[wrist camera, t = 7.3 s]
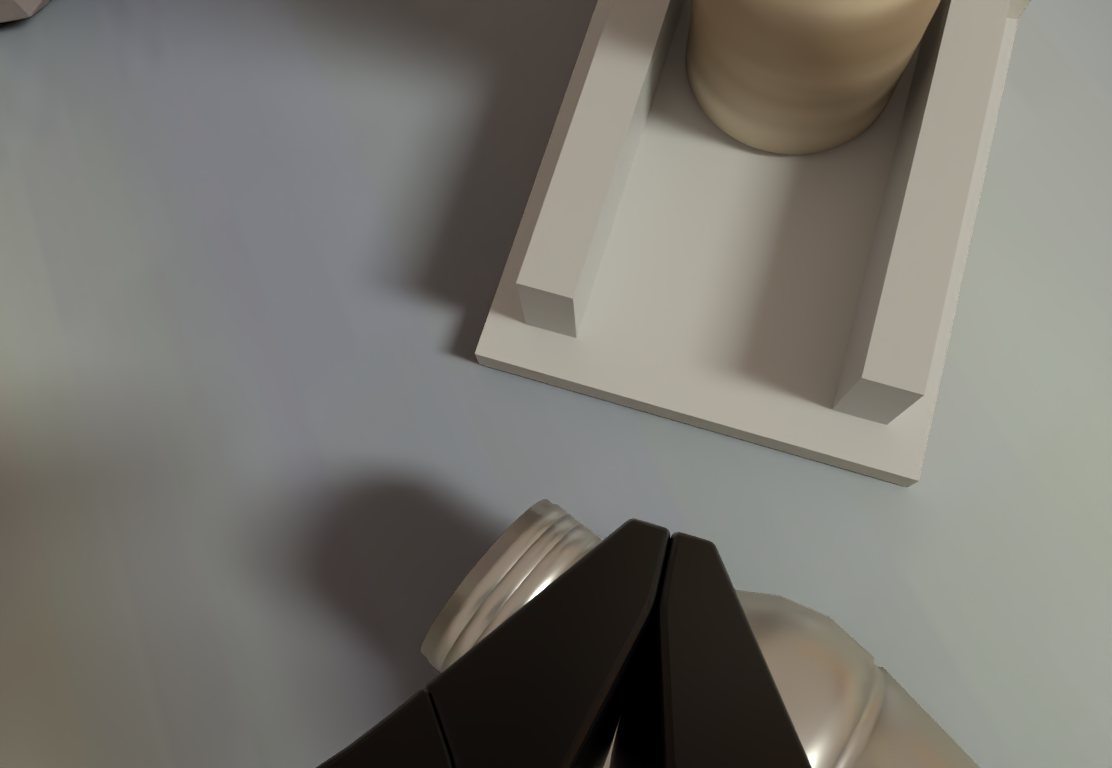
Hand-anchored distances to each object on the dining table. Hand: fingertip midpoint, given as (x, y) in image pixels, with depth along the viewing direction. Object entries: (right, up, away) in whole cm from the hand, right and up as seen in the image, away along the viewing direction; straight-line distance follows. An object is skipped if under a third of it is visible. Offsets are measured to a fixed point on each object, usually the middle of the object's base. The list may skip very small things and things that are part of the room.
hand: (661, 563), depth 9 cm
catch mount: (+5, +9, +14) cm, 18 cm away
